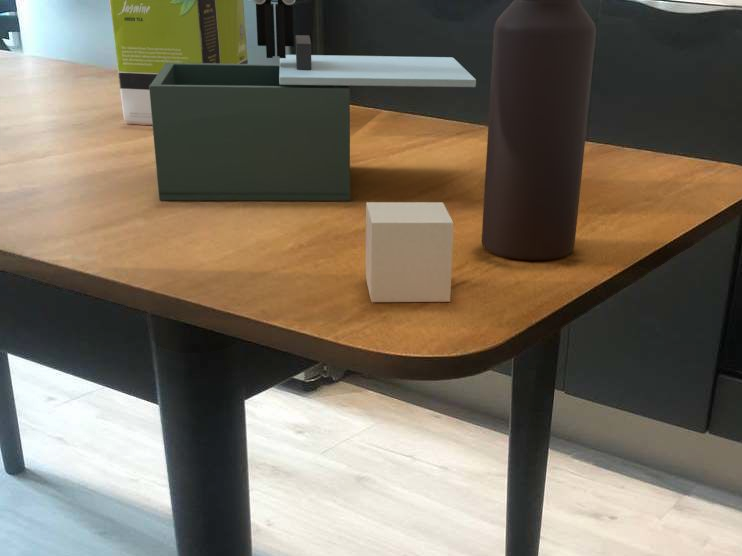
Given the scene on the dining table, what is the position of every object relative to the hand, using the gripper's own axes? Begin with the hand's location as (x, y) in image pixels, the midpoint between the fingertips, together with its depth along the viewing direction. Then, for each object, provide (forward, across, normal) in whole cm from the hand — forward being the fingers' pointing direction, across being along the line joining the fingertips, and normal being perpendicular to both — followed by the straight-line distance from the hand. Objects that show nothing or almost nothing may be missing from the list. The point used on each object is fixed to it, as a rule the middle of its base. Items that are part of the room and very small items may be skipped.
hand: (276, 55), depth 90 cm
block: (+10, +8, -30) cm, 33 cm away
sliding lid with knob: (+1, +8, 0) cm, 8 cm away
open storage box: (+10, -2, 0) cm, 10 cm away
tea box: (+10, -10, +33) cm, 36 cm away
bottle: (+10, +18, -21) cm, 30 cm away
